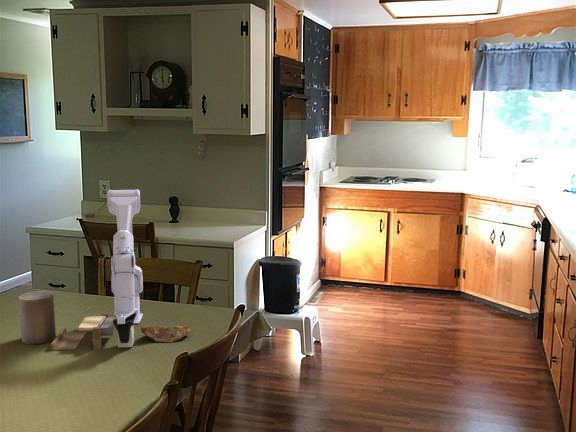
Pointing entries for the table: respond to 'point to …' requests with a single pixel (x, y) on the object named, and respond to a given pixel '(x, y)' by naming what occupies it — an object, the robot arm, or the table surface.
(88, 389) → the table surface
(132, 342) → the stone block
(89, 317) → the trapdoor
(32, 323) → the pillar candle
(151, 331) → the decorative stone
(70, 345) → the frame
